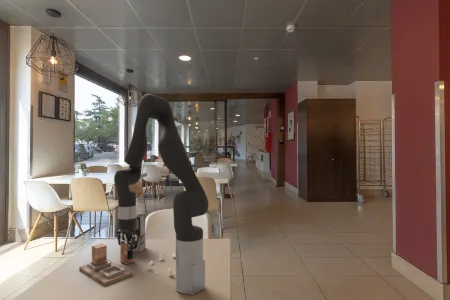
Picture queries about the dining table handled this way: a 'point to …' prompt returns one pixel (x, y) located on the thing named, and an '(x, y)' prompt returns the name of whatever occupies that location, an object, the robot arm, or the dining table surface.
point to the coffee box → (140, 232)
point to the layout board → (104, 267)
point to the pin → (125, 254)
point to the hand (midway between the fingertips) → (127, 257)
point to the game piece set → (162, 259)
